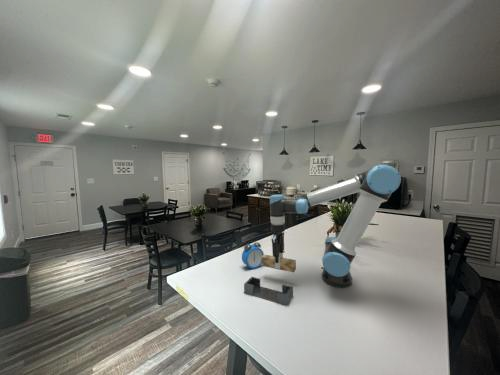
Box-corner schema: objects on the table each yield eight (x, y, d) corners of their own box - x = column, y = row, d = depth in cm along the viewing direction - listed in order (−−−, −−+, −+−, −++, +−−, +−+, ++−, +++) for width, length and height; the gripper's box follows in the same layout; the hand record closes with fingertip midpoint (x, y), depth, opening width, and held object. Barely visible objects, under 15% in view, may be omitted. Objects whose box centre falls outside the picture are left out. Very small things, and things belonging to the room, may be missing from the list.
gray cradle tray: (292, 296, 95) (292, 286, 95) (287, 306, 88) (287, 295, 87) (251, 285, 105) (251, 276, 105) (244, 293, 98) (244, 283, 98)
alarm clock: (246, 271, 120) (245, 247, 119) (241, 267, 126) (241, 244, 125) (264, 266, 127) (264, 243, 126) (259, 262, 132) (258, 240, 131)
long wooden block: (295, 269, 106) (295, 260, 106) (293, 272, 102) (293, 263, 102) (264, 263, 114) (264, 254, 114) (261, 265, 111) (261, 257, 110)
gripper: (276, 219, 116) (278, 259, 117) (264, 226, 101) (266, 272, 102) (289, 220, 113) (290, 261, 114) (278, 227, 98) (280, 274, 99)
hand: (279, 266), depth 108 cm, fingers closed on long wooden block, 4 cm apart
